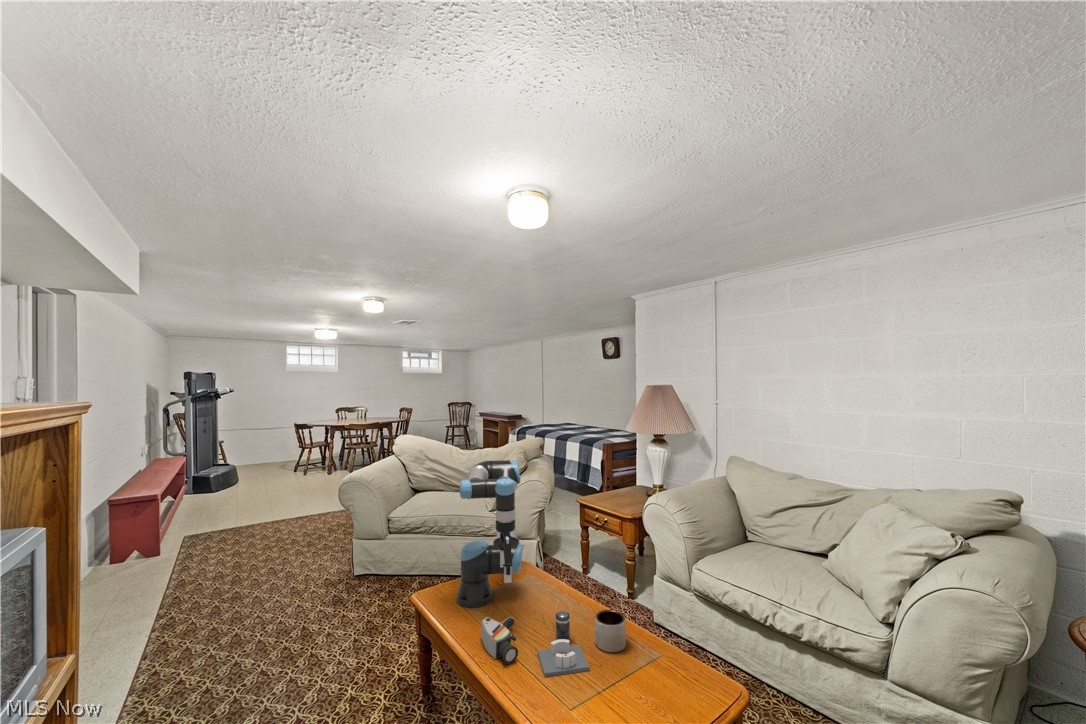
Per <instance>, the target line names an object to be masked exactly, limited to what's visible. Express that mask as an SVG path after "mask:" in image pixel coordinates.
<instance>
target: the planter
mask: <svg viewBox="0 0 1086 724" xmlns="http://www.w3.org/2000/svg"><path fill="white" fill-rule="evenodd" d="M594 620H595V621H594V624H595V625H594V627H595V629H594V641H595V645H596V647H597V648H598V649H600V650H601V651H603V652H606V653H612V654H615V653H619V652H621V651H623V650H624V649H625V648H626V645H627V635H626V616H625V615H624V614H623V613H622V612H620V611H618V610H614V609H602V610H600V611H597V613H596V614H595V617H594Z"/></svg>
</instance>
